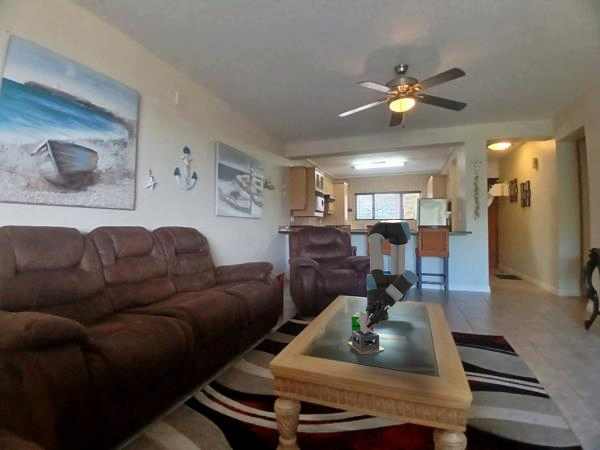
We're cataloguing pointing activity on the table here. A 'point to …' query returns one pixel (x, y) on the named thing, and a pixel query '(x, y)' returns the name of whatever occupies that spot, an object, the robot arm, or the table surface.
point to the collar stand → (365, 348)
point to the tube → (363, 320)
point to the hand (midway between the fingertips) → (360, 327)
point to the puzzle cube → (356, 325)
